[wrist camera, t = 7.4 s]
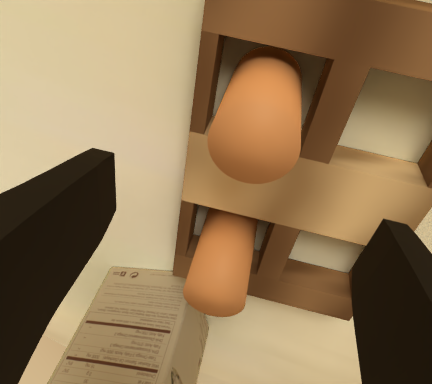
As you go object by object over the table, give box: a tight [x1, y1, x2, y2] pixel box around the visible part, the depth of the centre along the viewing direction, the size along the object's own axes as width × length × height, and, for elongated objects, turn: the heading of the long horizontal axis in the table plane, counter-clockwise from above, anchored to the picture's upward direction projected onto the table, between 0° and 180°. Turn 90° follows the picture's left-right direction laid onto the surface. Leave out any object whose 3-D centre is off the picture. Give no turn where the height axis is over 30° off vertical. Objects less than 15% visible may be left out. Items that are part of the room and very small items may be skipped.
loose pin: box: [207, 46, 302, 184], centre depth 15 cm, size 3×3×6 cm
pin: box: [183, 207, 258, 317], centre depth 20 cm, size 3×3×6 cm
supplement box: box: [47, 267, 209, 384], centre depth 25 cm, size 7×7×13 cm
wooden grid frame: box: [173, 0, 432, 321], centre depth 19 cm, size 12×18×2 cm, turn 171°
